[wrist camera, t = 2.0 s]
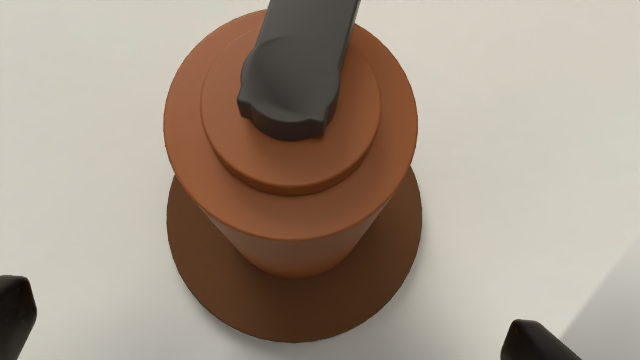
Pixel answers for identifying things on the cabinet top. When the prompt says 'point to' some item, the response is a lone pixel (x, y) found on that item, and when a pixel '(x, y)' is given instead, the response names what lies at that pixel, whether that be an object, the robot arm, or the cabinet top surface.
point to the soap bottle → (291, 132)
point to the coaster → (303, 293)
